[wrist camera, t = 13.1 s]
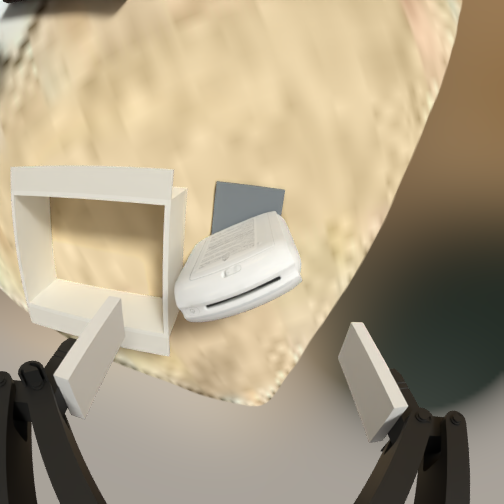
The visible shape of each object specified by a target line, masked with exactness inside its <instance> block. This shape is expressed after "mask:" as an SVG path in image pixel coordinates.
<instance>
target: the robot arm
mask: <svg viewBox="0 0 504 504" xmlns="http://www.w3.org/2000/svg"><path fill="white" fill-rule="evenodd" d="M124 338H125V329H124V321H123V313H122V303H121V298H118V297H113V296H109V297H108V298H107V299H106V301H105V302H104V303H103V304H102V306H101V307H100V308H99V310H98V311H97V312H96V314H95V315H94V317H93V318H92V319H91V321H90V322H89V323H88V325H87V326H86V328H85V329H84V330H83V332H82V333H81V335H80V336H79V337H78V339H77V340H76V339H73V338H69V339H67V340H66V341H64V342H63V343H62V344H61V345H60V346H59V348H58V350H57V351H56V352H55V354H54V356H52V358H51V359H50V360H49V362H48V363H47V365H46V366H45V368H43V365H42V364H41V363H39V362H37V361H28V362H26V363H24V364H23V365H21V367H20V368H19V371H18V375H19V377H20V379H21V381H17V380H12V378H11V376H10V374H9V373H7V372H3V371H1V372H0V504H37V500H36V492H35V484H34V474H33V462H32V439H31V422H32V424H33V428H34V432H35V435H36V439H37V443H38V446H39V449H40V453H41V455H42V459H43V461H44V464H45V467H46V470H47V473H48V475H49V478H50V481H51V483H52V486H53V488H54V491H55V493H56V495H57V497H58V500H59V502H60V504H106V501H105V500H104V498H103V496H102V495H101V493H100V491H99V489H98V487H97V485H96V484H95V481H94V480H93V478H92V476H91V474H90V472H89V470H88V467H87V466H86V463H85V461H84V459H83V457H82V455H81V452H80V450H79V448H78V446H77V443H76V441H75V438H74V436H73V433H72V430H71V428H70V425H69V423H68V420H67V418H66V415H65V412H66V410H67V408H68V409H69V411H70V413H71V415H74V416H76V417H79V418H82V419H85V418H86V416H87V414H88V412H89V410H90V407H91V405H92V403H93V401H94V399H95V397H96V394H97V392H98V390H99V388H100V386H101V384H102V382H103V380H104V378H105V376H106V374H107V372H108V370H109V368H110V366H111V364H112V362H113V360H114V358H115V356H116V354H117V352H118V350H119V348H120V346H121V344H122V342H123V340H124ZM338 359H339V362H340V364H341V367H342V370H343V372H344V375H345V378H346V380H347V383H348V386H349V388H350V391H351V394H352V396H353V399H354V402H355V405H356V407H357V410H358V413H359V416H360V419H361V421H362V424H363V427H364V430H365V433H366V436H367V439H368V442H369V443H371V442H377V441H382V440H383V439H384V438H385V437H386V435H387V434H388V436H389V438H390V440H389V441H388V442H387V444H386V445H385V446H384V447H383V448H382V450H381V451H383V453H382V455H381V457H380V458H379V460H378V463H377V464H376V466H375V468H374V470H373V472H372V474H371V476H370V477H369V479H368V481H367V483H366V484H365V486H364V488H363V489H362V491H361V493H360V494H359V496H358V498H357V499H356V501H355V503H354V504H404V503H405V501H406V498H407V496H408V494H409V491H410V489H411V486H412V484H413V482H414V479H415V477H416V474H417V471H418V476H417V486H416V493H415V499H414V504H470V468H469V466H470V465H469V448H468V437H467V427H466V421H465V418H464V416H463V415H462V414H460V413H459V412H457V411H450V412H448V413H447V415H446V416H445V417H435V416H432V414H431V413H430V412H429V411H428V410H426V409H424V408H419V406H418V404H417V402H416V401H415V399H414V397H413V395H412V393H411V392H410V390H409V389H408V386H407V384H406V383H405V381H404V379H403V377H402V375H401V374H400V373H399V372H398V371H397V370H396V369H389V368H388V367H387V365H386V363H385V361H384V359H383V358H382V356H381V354H380V352H379V350H378V349H377V347H376V345H375V343H374V341H373V340H372V338H371V336H370V334H369V333H368V331H367V329H366V327H365V326H364V324H363V323H361V322H351V324H350V327H349V330H348V333H347V335H346V338H345V341H344V343H343V346H342V349H341V351H340V354H339V356H338Z"/></svg>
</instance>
